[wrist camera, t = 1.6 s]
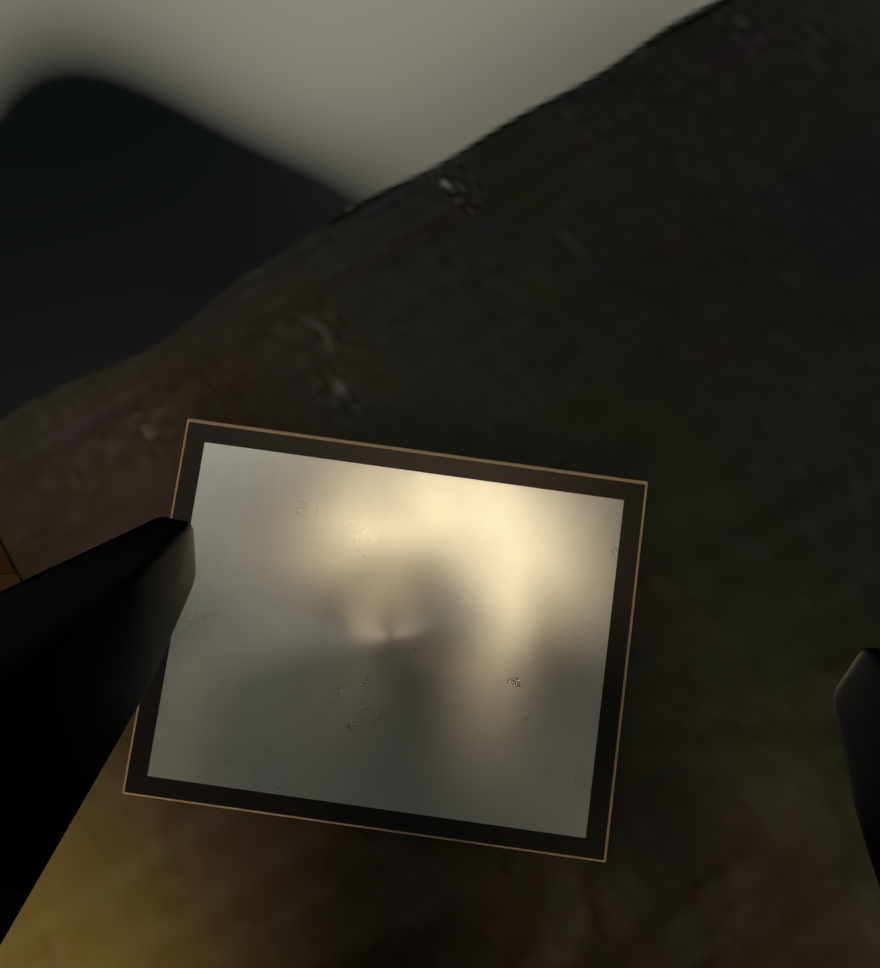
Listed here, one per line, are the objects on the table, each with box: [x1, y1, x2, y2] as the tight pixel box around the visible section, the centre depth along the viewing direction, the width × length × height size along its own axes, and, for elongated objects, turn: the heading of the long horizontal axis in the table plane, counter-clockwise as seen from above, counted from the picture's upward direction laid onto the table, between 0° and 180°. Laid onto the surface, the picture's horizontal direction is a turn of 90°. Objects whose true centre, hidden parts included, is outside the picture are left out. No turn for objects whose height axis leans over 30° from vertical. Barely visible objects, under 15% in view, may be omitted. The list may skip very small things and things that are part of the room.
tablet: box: [122, 419, 648, 862], centre depth 24 cm, size 13×16×1 cm
